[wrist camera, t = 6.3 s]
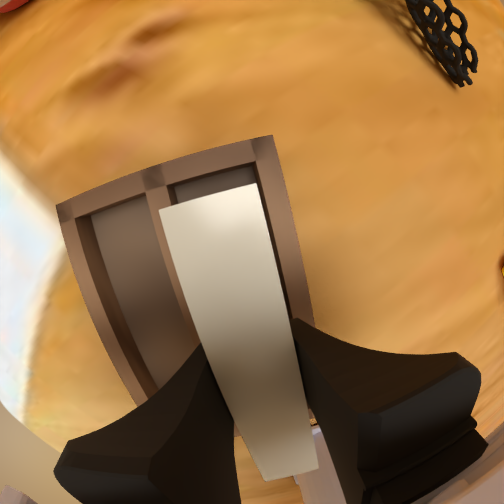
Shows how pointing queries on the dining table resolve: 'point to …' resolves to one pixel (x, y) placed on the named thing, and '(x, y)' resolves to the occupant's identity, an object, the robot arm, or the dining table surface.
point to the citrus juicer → (10, 5)
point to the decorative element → (445, 38)
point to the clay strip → (243, 323)
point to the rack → (167, 256)
